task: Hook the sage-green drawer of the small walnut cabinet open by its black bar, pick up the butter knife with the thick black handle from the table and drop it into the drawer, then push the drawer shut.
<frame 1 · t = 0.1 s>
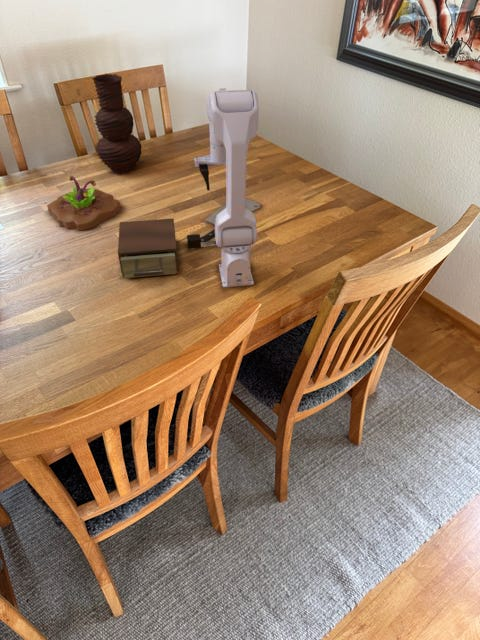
hand: (221, 188, 135), 10 cm above the table, tool pointing down, fingers open, 7 cm apart
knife: (203, 245, 131), on the table, tilted 8°, touching cleaver
plant: (84, 211, 144), on the table
drawer: (149, 258, 120), point 4 cm above the table, slide at 0.5 cm
cabinet: (150, 258, 126), on the table
cleaver: (222, 220, 141), on the table, touching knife
vase: (122, 169, 165), on the table
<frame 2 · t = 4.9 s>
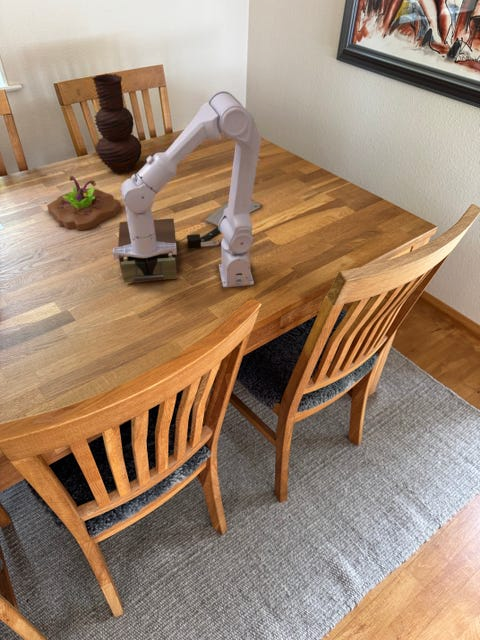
hand: (149, 278, 114), 4 cm above the table, tool pointing down, fingers closed, pressing on drawer
drawer: (149, 262, 118), point 4 cm above the table, slide at 2.4 cm, touching gripper
everything else where it was.
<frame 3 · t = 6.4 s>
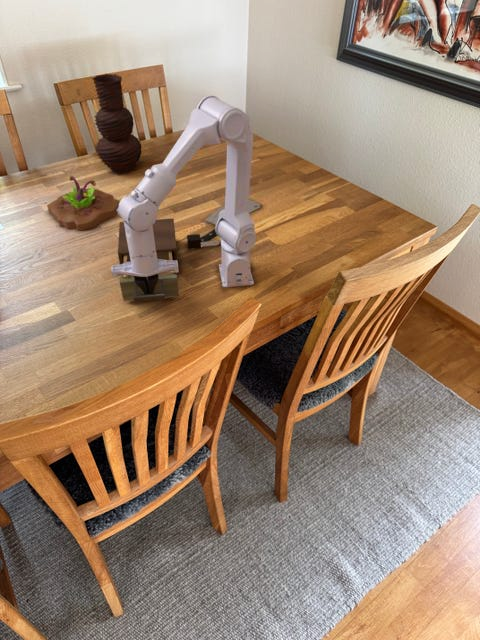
hand: (150, 297, 109), 4 cm above the table, tool pointing down, fingers closed, pressing on drawer
drawer: (149, 279, 113), point 4 cm above the table, slide at 9.5 cm, touching gripper
everything else where it was.
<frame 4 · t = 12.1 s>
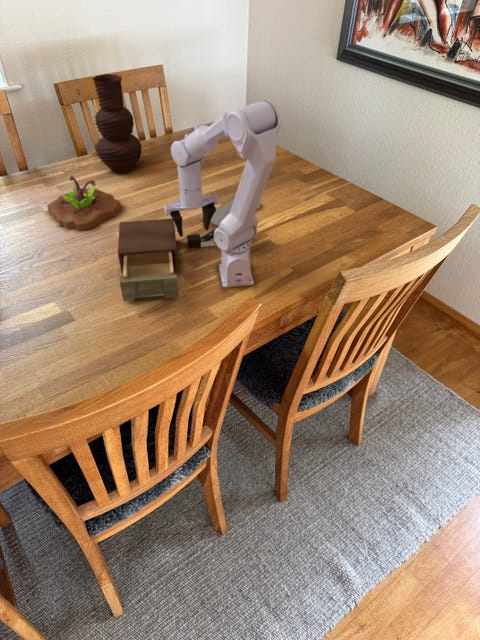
hand: (193, 231, 127), 5 cm above the table, tool pointing down, fingers open, 7 cm apart
drawer: (149, 279, 113), point 4 cm above the table, slide at 9.5 cm
everything else where it was.
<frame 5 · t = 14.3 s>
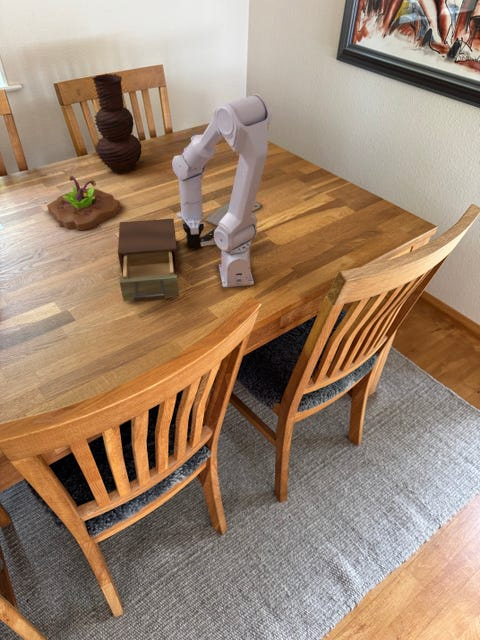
hand: (194, 242, 130), 1 cm above the table, tool pointing down, fingers closed on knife, 2 cm apart
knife: (203, 244, 131), on the table, touching cleaver, gripper
everything else where it was.
when the fingers open (6 cm above the table, at t = 19.0 s): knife drops 3 cm, resting on drawer.
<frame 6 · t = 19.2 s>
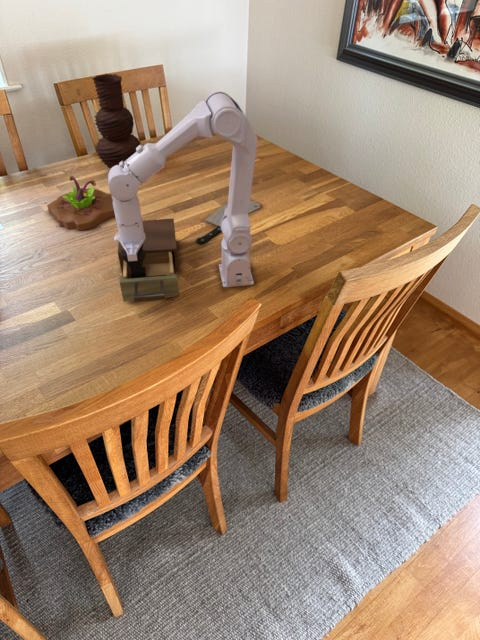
hand: (137, 267, 113), 6 cm above the table, tool pointing down, fingers open, 4 cm apart
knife: (150, 279, 116), point 2 cm above the table, touching drawer
drawer: (149, 279, 113), point 4 cm above the table, slide at 9.5 cm, touching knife
cleaver: (222, 220, 141), on the table
everything else where it was.
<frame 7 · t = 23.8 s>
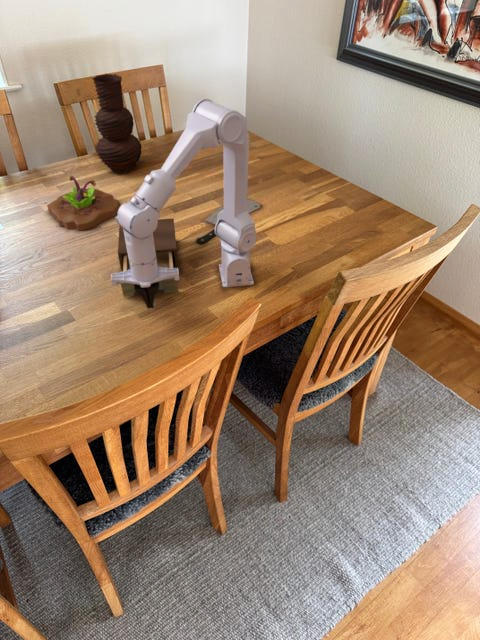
hand: (150, 305, 106), 4 cm above the table, tool pointing down, fingers closed, pressing on drawer
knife: (150, 275, 117), point 2 cm above the table, touching drawer
drawer: (149, 275, 114), point 4 cm above the table, slide at 7.9 cm, touching gripper, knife
everything else where it was.
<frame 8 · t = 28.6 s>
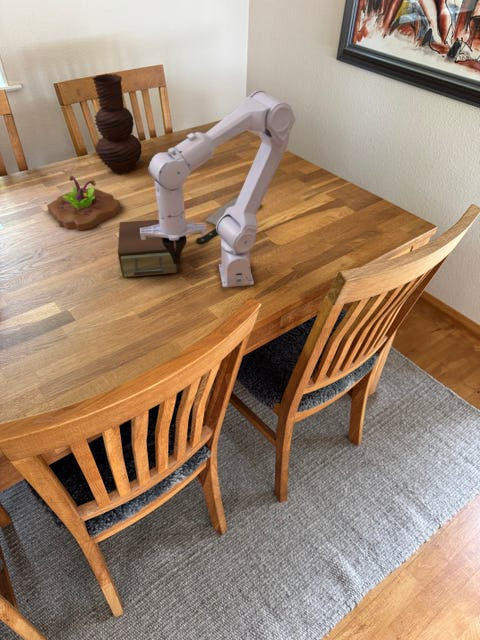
hand: (176, 261, 109), 10 cm above the table, tool pointing down, fingers closed
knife: (149, 257, 123), point 2 cm above the table, touching drawer
drawer: (149, 257, 120), point 4 cm above the table, slide at 0.0 cm, touching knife
everything else where it was.
at the end: drawer pulled out 9.5 cm at the most during the clip, back to where it started at the end; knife inside the target area in the cabinet (2.3 cm from its centre), point 2.0 cm above the cabinet's base; drawer slide at 0.0 cm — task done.
